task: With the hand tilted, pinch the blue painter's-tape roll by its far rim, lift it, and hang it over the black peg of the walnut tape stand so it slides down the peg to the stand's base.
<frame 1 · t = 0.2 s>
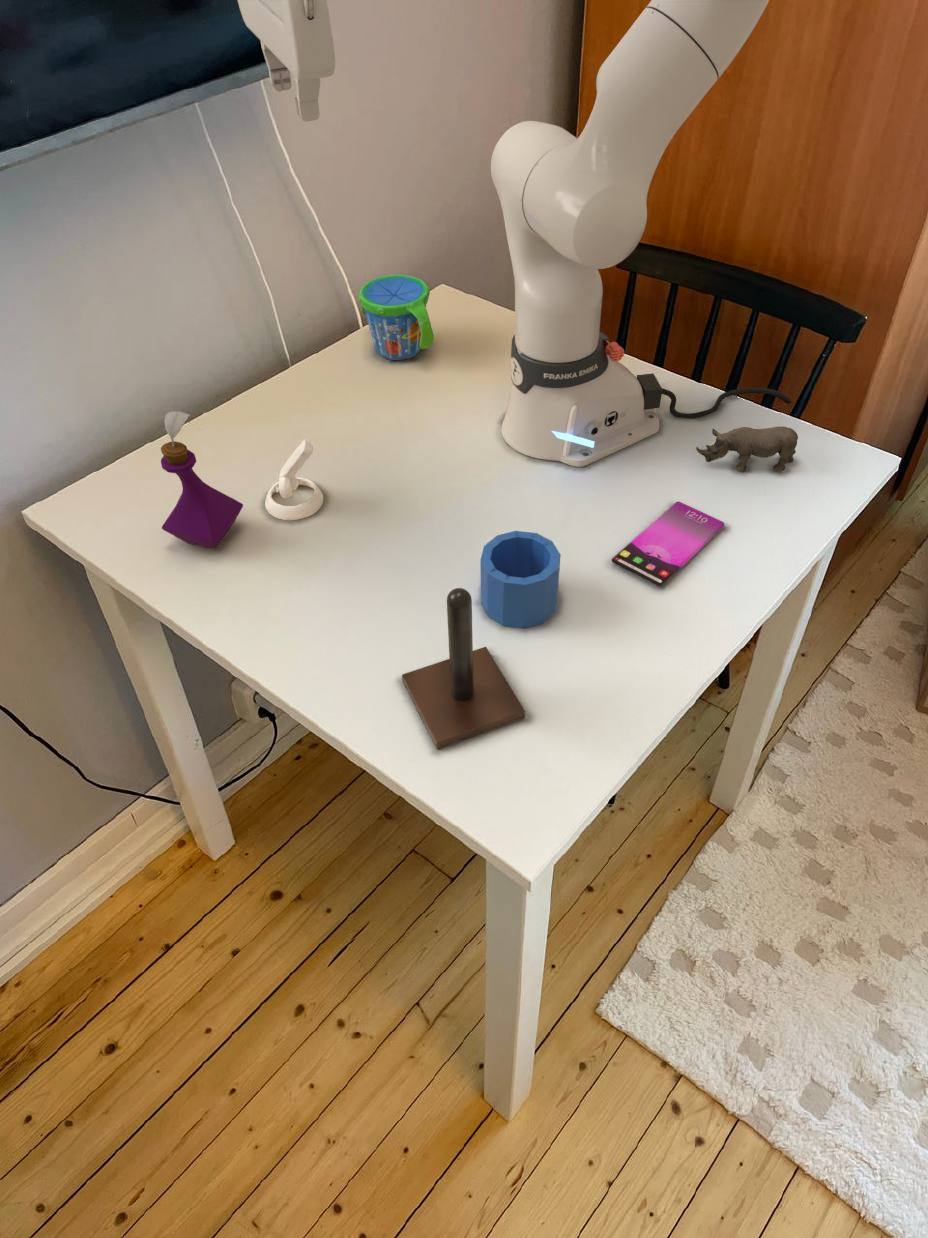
hand: (294, 102, 94), 48 cm above the table, tool pointing down, fingers open, 8 cm apart
tape stand: (462, 699, 103), on the table
rhino figurine: (743, 465, 130), on the table
perfume bottle: (208, 536, 122), on the table
tape roll: (519, 600, 113), on the table
hook: (294, 502, 127), on the table
smartphone: (668, 546, 119), on the table
snack cup: (398, 350, 153), on the table
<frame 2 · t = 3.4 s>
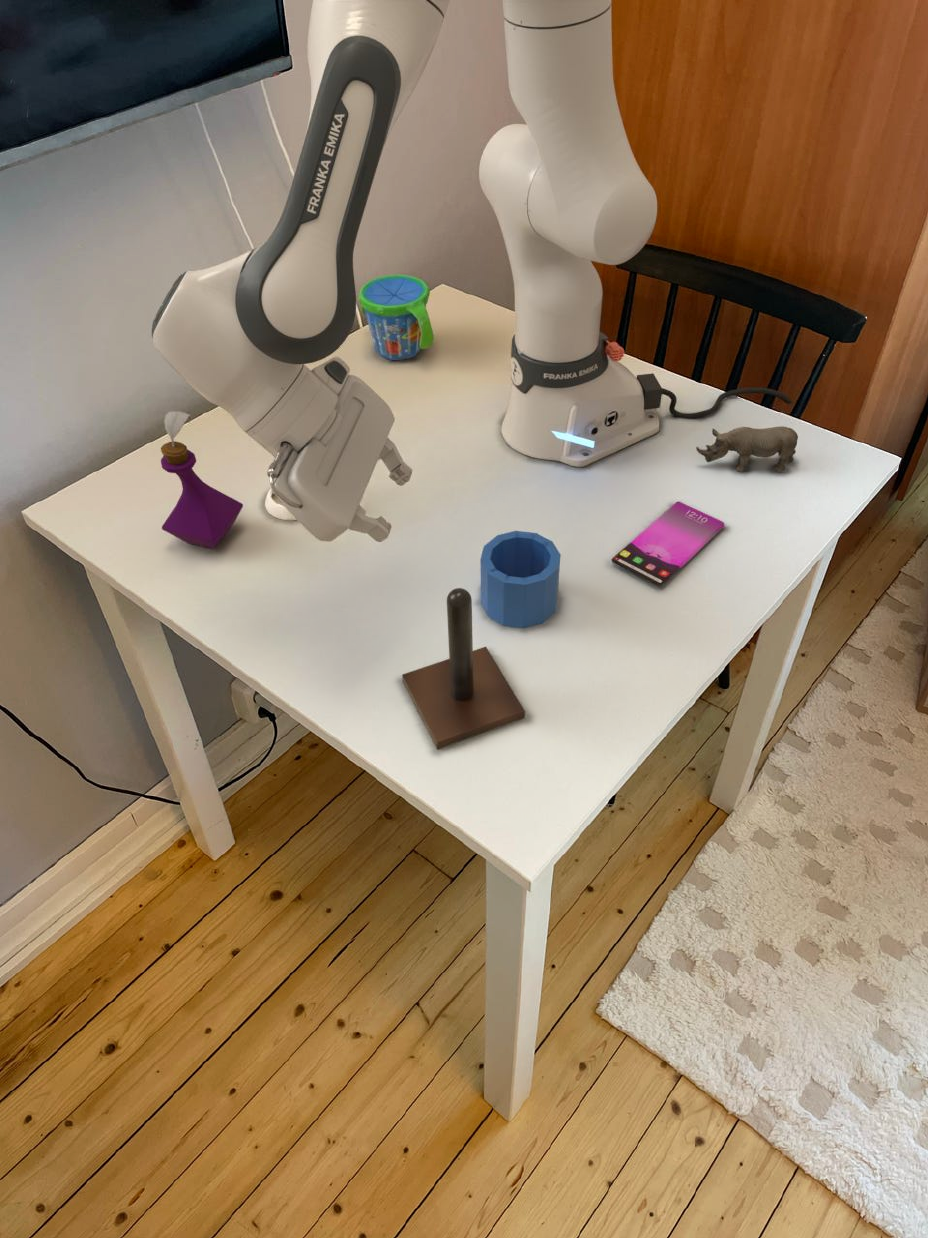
hand: (397, 506, 101), 16 cm above the table, tool tilted 45°, fingers open, 8 cm apart
nothing on the table moved.
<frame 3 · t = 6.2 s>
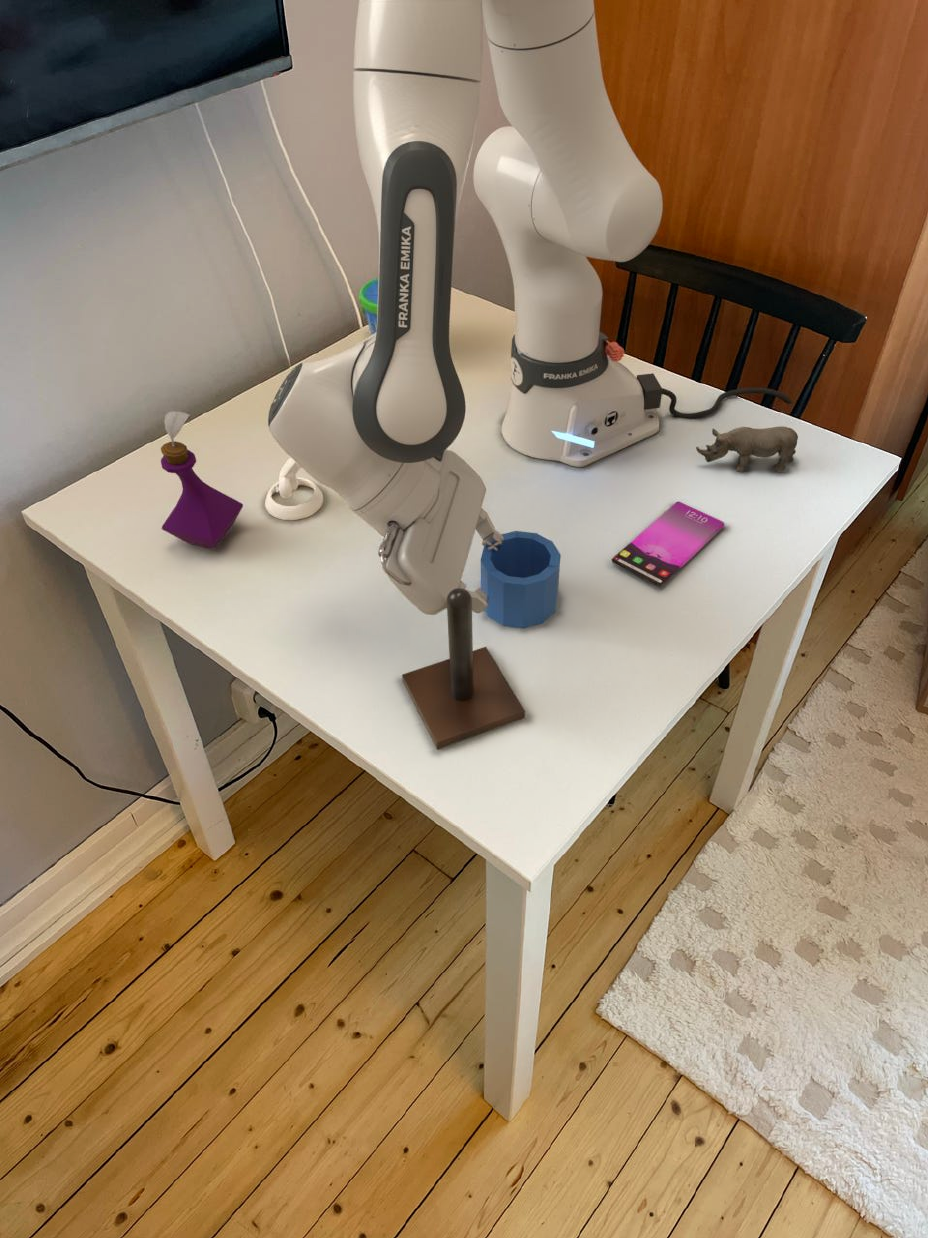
hand: (491, 575, 105), 8 cm above the table, tool tilted 45°, fingers open, 8 cm apart
tape roll: (519, 600, 113), on the table, touching gripper
everything else where it was.
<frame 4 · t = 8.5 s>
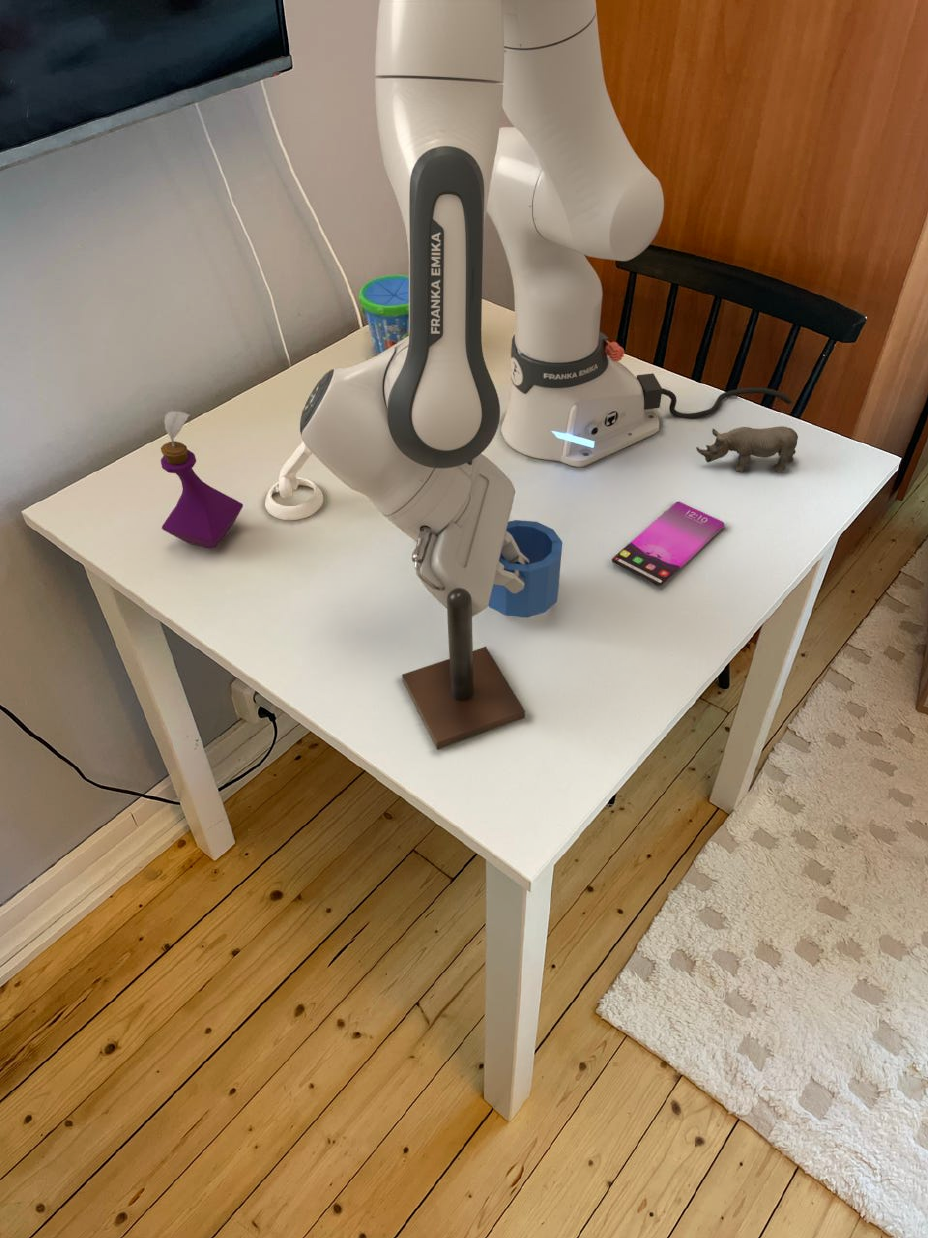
hand: (522, 577, 105), 7 cm above the table, tool tilted 45°, fingers closed on tape roll
tape roll: (520, 591, 112), point 2 cm above the table, touching gripper
everything else where it was.
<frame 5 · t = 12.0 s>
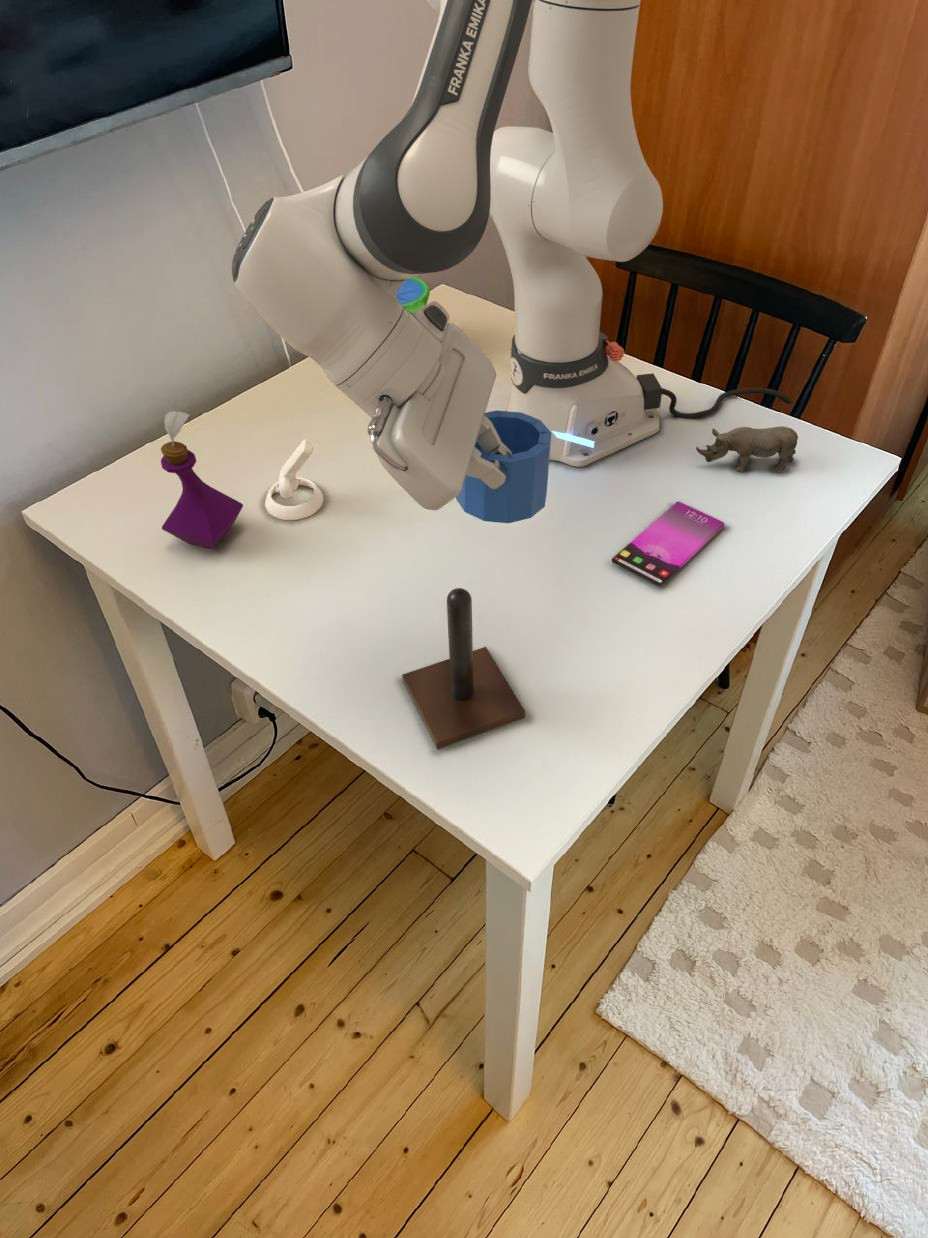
hand: (503, 471, 89), 26 cm above the table, tool tilted 45°, fingers closed on tape roll
tape roll: (501, 496, 95), point 20 cm above the table, touching gripper
everything else where it was.
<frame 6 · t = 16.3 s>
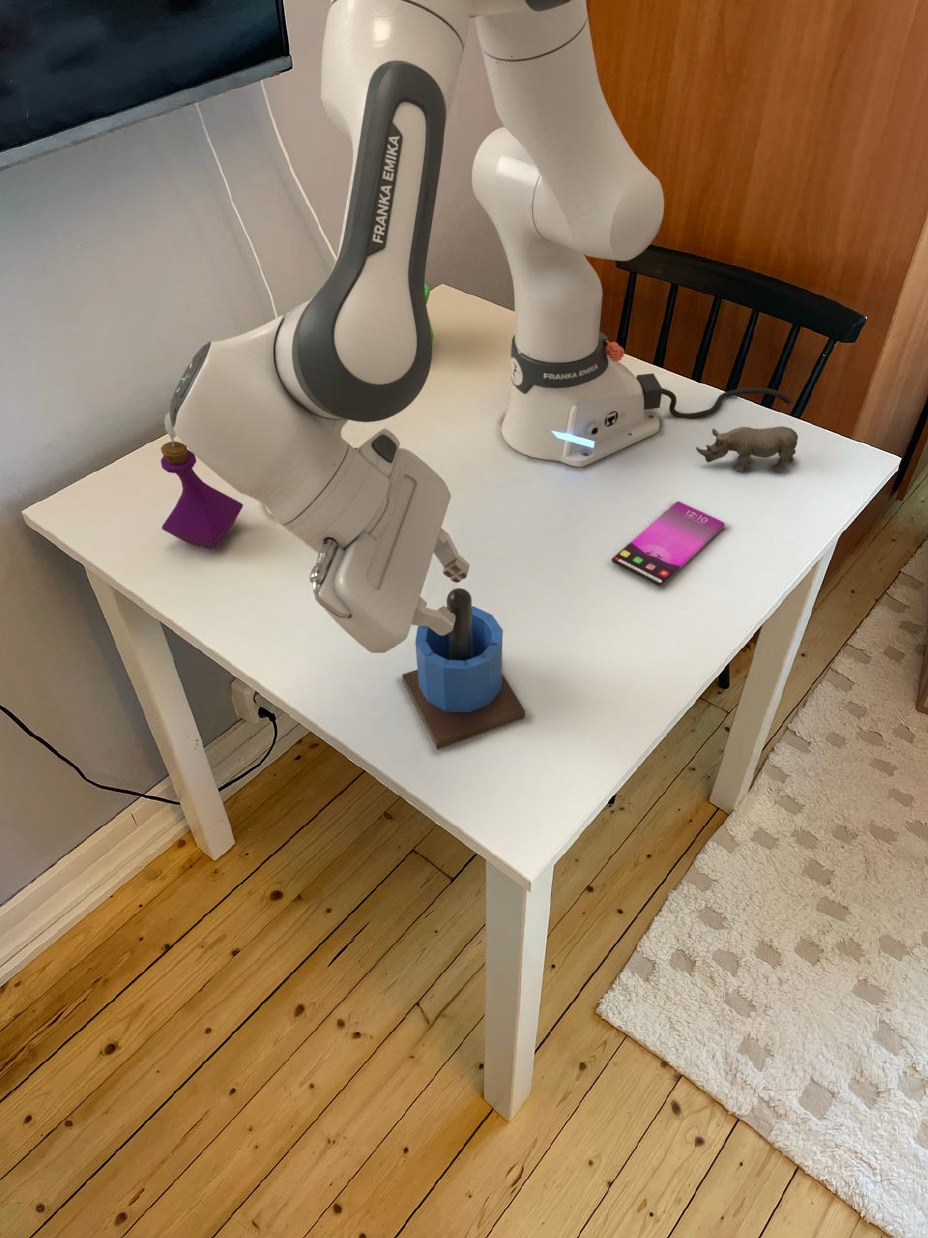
hand: (457, 600, 87), 19 cm above the table, tool tilted 45°, fingers open, 5 cm apart
tape roll: (460, 680, 103), point 1 cm above the table, touching tape stand
everything else where it was.
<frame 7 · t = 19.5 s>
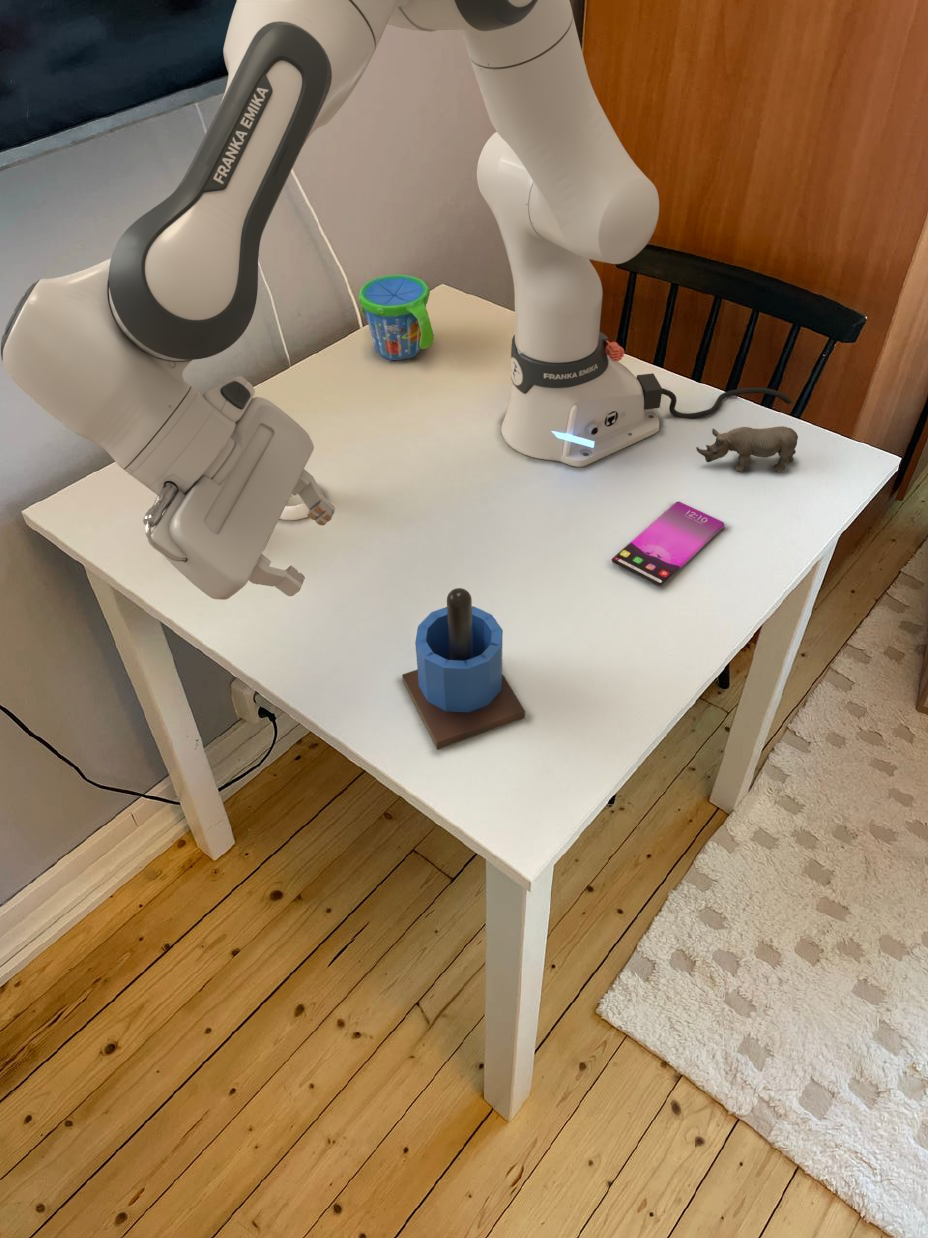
hand: (314, 551, 85), 23 cm above the table, tool tilted 45°, fingers open, 8 cm apart
nothing on the table moved.
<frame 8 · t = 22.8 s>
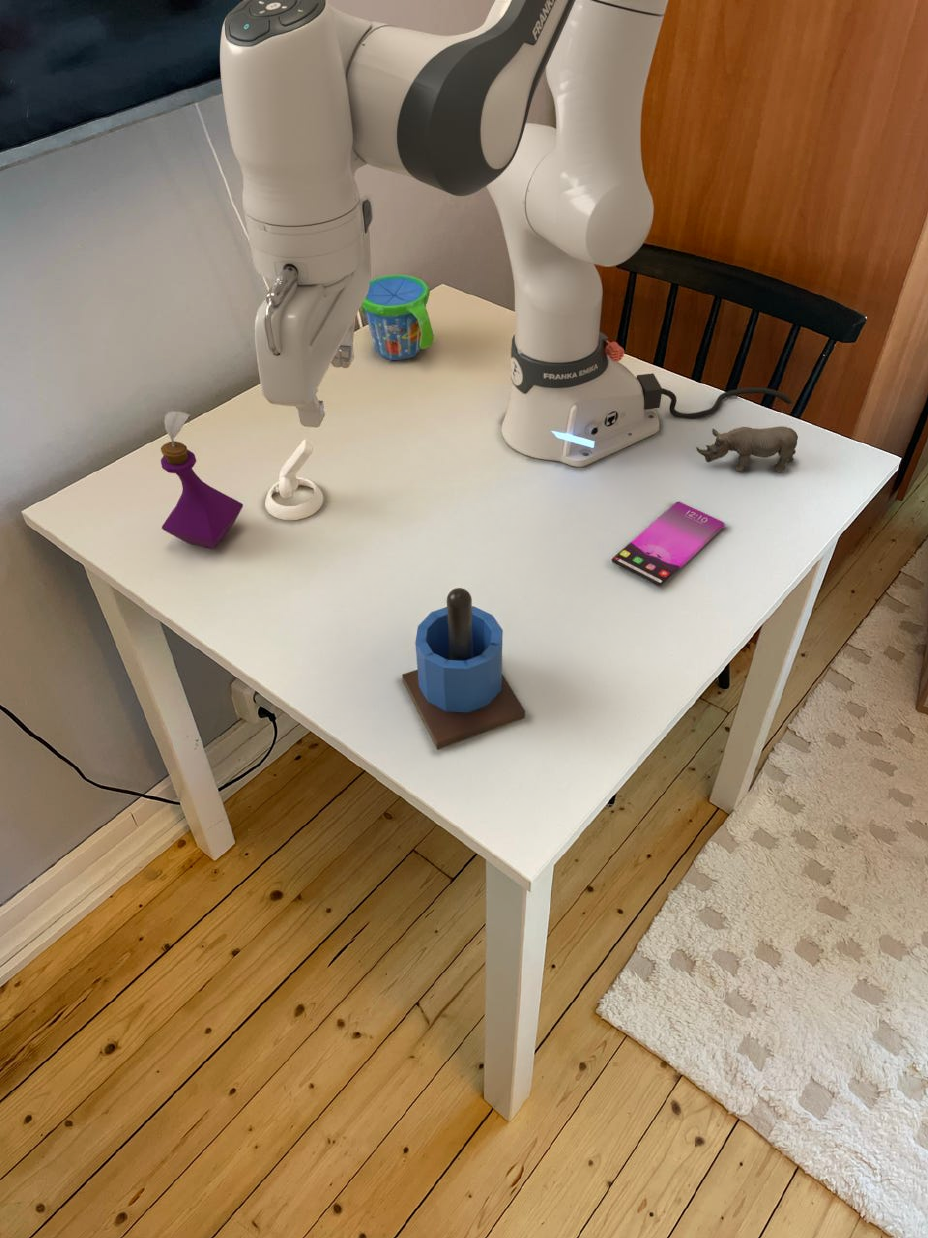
hand: (328, 391, 85), 33 cm above the table, tool pointing down, fingers open, 8 cm apart
nothing on the table moved.
at the end: tape roll 1.7 cm from the tape stand (horizontally); tape roll point 1.2 cm above the table; the gripper is holding nothing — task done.
